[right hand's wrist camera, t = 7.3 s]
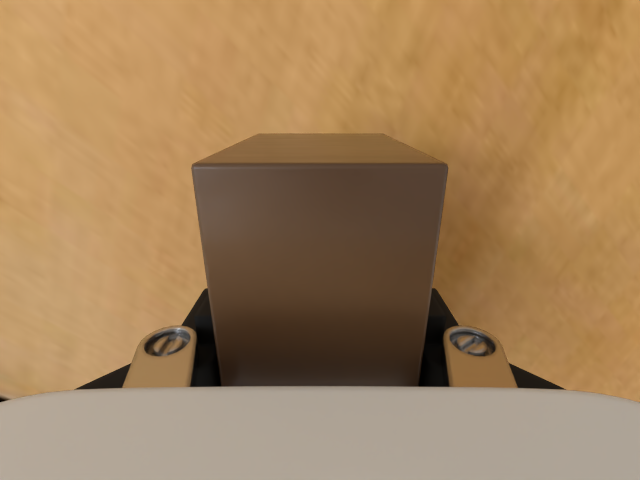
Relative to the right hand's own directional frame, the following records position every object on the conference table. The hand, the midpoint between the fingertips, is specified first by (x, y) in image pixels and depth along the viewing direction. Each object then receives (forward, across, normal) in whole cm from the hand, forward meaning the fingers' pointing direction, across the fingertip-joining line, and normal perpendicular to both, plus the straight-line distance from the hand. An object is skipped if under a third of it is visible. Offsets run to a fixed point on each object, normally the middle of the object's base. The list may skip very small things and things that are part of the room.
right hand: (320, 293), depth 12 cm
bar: (+2, 0, +32) cm, 32 cm away
